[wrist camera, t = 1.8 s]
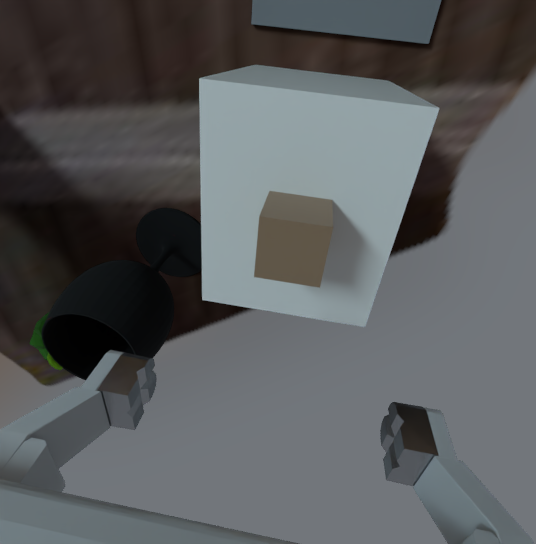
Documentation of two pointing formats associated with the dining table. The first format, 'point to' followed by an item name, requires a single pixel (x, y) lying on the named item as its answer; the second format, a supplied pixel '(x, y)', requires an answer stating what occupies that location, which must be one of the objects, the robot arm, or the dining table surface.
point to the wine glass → (124, 297)
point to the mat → (352, 17)
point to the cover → (304, 187)
